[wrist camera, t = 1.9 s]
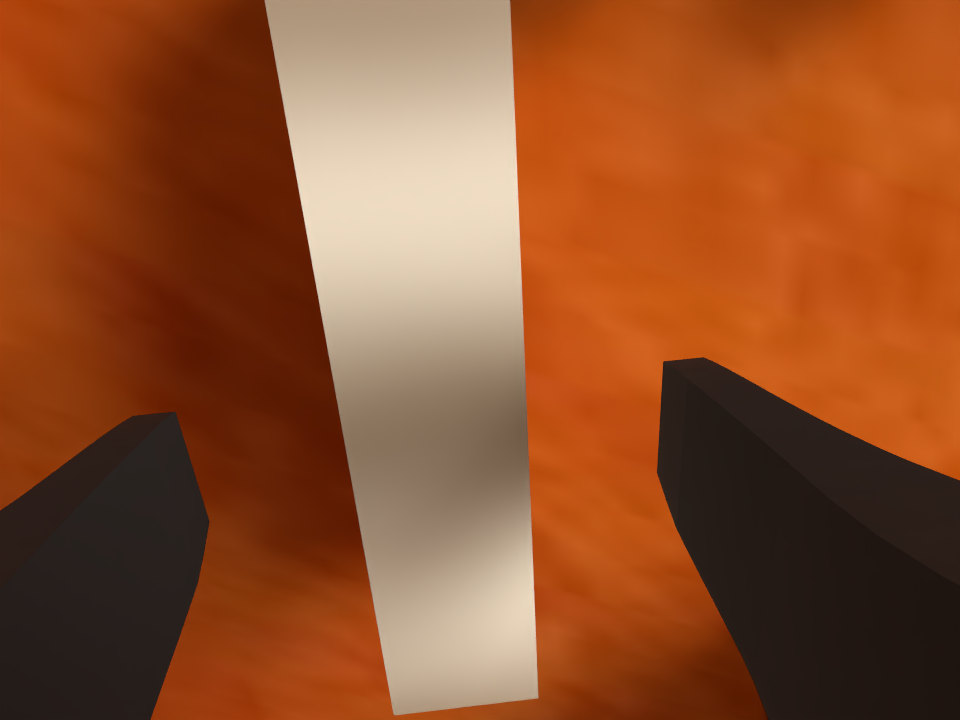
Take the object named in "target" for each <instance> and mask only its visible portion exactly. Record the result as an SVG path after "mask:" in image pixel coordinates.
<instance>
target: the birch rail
mask: <svg viewBox="0 0 960 720" xmlns="http://www.w3.org/2000/svg"><path fill="white" fill-rule="evenodd" d="M265 6H266V11H267V17H268V22H269V28H270V33H271V39H272V44H273V50H274V55H275V61H276V66H277V72H278V77H279V83H280V88H281V94H282V99H283V105H284V111H285V116H286V122H287V127H288V133H289V138H290V144H291V149H292V155H293V160H294V166H295V171H296V177H297V182H298V188H299V193H300V199H301V205H302V210H303V216H304V221H305V227H306V232H307V238H308V243H309V249H310V254H311V260H312V265H313V271H314V276H315V282H316V287H317V293H318V298H319V304H320V310H321V315H322V321H323V326H324V332H325V337H326V343H327V348H328V354H329V359H330V365H331V370H332V376H333V381H334V387H335V392H336V398H337V403H338V409H339V415H340V420H341V426H342V431H343V437H344V442H345V448H346V453H347V459H348V464H349V470H350V475H351V481H352V486H353V492H354V497H355V503H356V509H357V514H358V520H359V525H360V531H361V536H362V542H363V547H364V553H365V558H366V564H367V569H368V575H369V580H370V586H371V591H372V597H373V602H374V608H375V614H376V619H377V625H378V630H379V636H380V641H381V647H382V652H383V658H384V663H385V669H386V674H387V680H388V685H389V691H390V696H391V702H392V707H393V713H394V715H401V714H410V713H418V712H426V711H435V710H443V709H452V708H460V707H468V706H477V705H485V704H494V703H502V702H510V701H519V700H527V699H536V698H538V678H537V653H536V628H535V604H534V579H533V554H532V530H531V505H530V480H529V456H528V431H527V406H526V382H525V357H524V332H523V308H522V283H521V258H520V233H519V209H518V184H517V159H516V135H515V110H514V85H513V61H512V36H511V11H510V0H265Z"/></svg>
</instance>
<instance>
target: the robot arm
mask: <svg viewBox="0 0 960 720" xmlns="http://www.w3.org/2000/svg"><path fill="white" fill-rule="evenodd" d="M657 474H658V477H659V480H660V483H661V486H662V489H663V492H664V495H665V498H666V501H667V504H668V506H669V509H670V512H671V515H672V517H673V520H674V523H675V526H676V528H677V530H678V532H679V534H680V536H681V539H682V541H683V543H684V545H685V547H686V548H687V550H688V552H689V554H690V556H691V558H692V560H693V562H694V564H695V566H696V568H697V570H698V572H699V574H700V576H701V578H702V580H703V582H704V584H705V586H706V588H707V589H708V591H709V593H710V595H711V597H712V599H713V601H714V603H715V605H716V607H717V609H718V611H719V613H720V615H721V617H722V618H723V620H724V622H725V624H726V626H727V628H728V630H729V632H730V634H731V636H732V638H733V640H734V642H735V644H736V646H737V647H738V649H739V651H740V653H741V655H742V658H743V660H744V662H745V664H746V666H747V668H748V671H749V673H750V675H751V677H752V679H753V681H754V684H755V686H756V689H757V691H758V694H759V696H760V699H761V702H762V704H763V707H764V709H765V712H766V714H767V717H768V719H769V720H960V481H959V480H957V479H954V478H951V477H949V476H946V475H944V474H941V473H939V472H936V471H934V470H931V469H928V468H926V467H923V466H921V465H918V464H916V463H913V462H910V461H908V460H906V459H903V458H901V457H899V456H896V455H894V454H892V453H889V452H887V451H885V450H882V449H880V448H878V447H876V446H874V445H872V444H870V443H867V442H865V441H863V440H861V439H859V438H857V437H855V436H853V435H850V434H848V433H846V432H844V431H842V430H840V429H838V428H836V427H834V426H832V425H830V424H828V423H826V422H824V421H822V420H820V419H818V418H816V417H814V416H813V415H811V414H809V413H807V412H805V411H803V410H801V409H799V408H797V407H796V406H794V405H792V404H790V403H788V402H786V401H785V400H783V399H781V398H779V397H777V396H775V395H774V394H772V393H770V392H768V391H766V390H765V389H763V388H761V387H759V386H758V385H756V384H754V383H752V382H750V381H749V380H747V379H745V378H743V377H741V376H740V375H738V374H736V373H734V372H732V371H730V370H729V369H727V368H725V367H723V366H721V365H719V364H717V363H715V362H713V361H711V360H708V359H706V358H704V357H703V358H693V359H684V360H674V361H664V362H663V377H662V395H661V413H660V430H659V448H658V466H657ZM208 527H209V519H208V515H207V512H206V509H205V506H204V502H203V499H202V496H201V493H200V490H199V486H198V483H197V480H196V477H195V473H194V470H193V467H192V464H191V460H190V457H189V454H188V451H187V447H186V444H185V441H184V438H183V435H182V431H181V428H180V425H179V422H178V418H177V415H176V412H168V413H158V414H148V415H138V416H132V417H131V418H129V419H127V420H126V421H124V422H122V423H121V424H119V425H118V426H116V427H115V428H113V429H112V430H110V431H109V432H107V433H106V434H105V435H103V436H102V437H100V438H99V439H98V440H96V441H95V442H94V443H92V444H91V445H89V446H88V447H87V448H85V449H84V450H83V451H81V452H80V453H79V454H77V455H76V456H75V457H73V458H72V459H71V460H69V461H68V462H67V463H65V464H64V465H63V466H61V467H60V468H59V469H57V470H56V471H55V472H53V473H52V474H51V475H49V476H48V477H46V478H45V479H44V480H42V481H41V482H40V483H38V484H37V485H36V486H34V487H33V488H32V489H30V490H29V491H28V492H26V493H25V494H24V495H22V496H21V497H19V498H18V499H17V500H15V501H14V502H12V503H11V504H9V505H8V506H6V507H5V508H4V509H2V510H1V511H0V720H150V719H151V716H152V713H153V710H154V708H155V705H156V702H157V699H158V696H159V693H160V691H161V688H162V685H163V682H164V679H165V676H166V673H167V671H168V668H169V665H170V662H171V659H172V656H173V654H174V651H175V648H176V645H177V642H178V639H179V637H180V634H181V631H182V628H183V625H184V622H185V619H186V616H187V613H188V610H189V607H190V604H191V602H192V599H193V596H194V593H195V589H196V586H197V583H198V579H199V574H200V570H201V565H202V560H203V555H204V550H205V544H206V538H207V532H208Z"/></svg>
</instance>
